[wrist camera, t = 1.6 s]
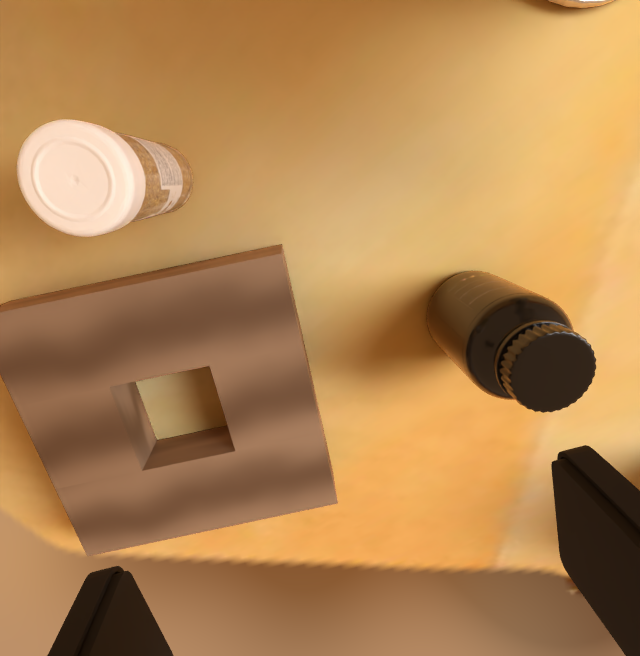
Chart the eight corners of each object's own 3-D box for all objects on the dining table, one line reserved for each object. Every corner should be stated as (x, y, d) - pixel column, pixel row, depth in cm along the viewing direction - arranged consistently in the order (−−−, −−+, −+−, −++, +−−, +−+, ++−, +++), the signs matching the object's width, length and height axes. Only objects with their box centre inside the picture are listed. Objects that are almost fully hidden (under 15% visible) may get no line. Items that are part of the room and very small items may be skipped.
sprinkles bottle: (144, 221, 31) (48, 253, 19) (114, 154, 30) (-13, 140, 17) (206, 199, 31) (151, 217, 19) (178, 131, 30) (99, 99, 17)
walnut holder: (9, 301, 32) (-27, 317, 29) (282, 244, 33) (281, 253, 29) (106, 519, 39) (87, 556, 35) (332, 471, 39) (337, 503, 35)
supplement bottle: (514, 339, 36) (618, 413, 25) (432, 361, 36) (498, 445, 25) (504, 257, 34) (613, 298, 23) (417, 281, 34) (481, 334, 23)
